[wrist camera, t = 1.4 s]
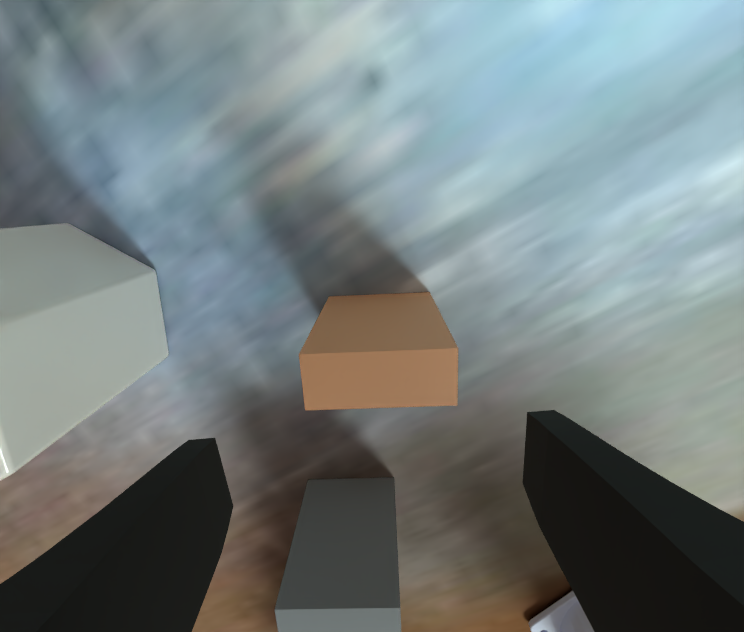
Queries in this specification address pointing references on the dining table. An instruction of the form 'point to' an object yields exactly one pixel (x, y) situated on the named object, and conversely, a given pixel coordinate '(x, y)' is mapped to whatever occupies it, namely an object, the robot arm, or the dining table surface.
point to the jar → (68, 333)
